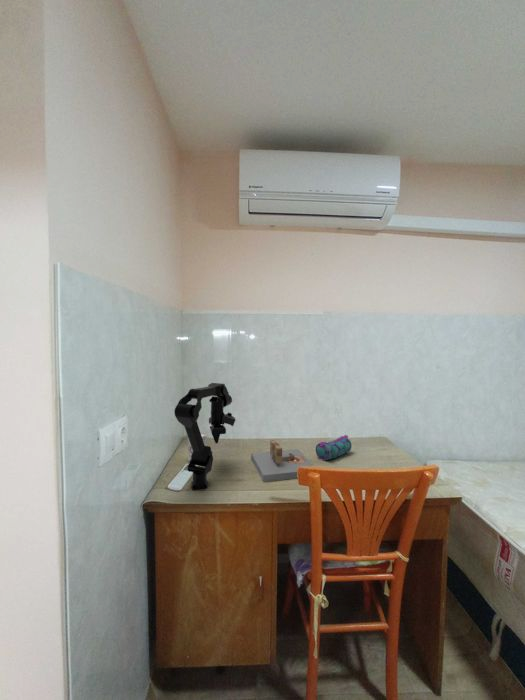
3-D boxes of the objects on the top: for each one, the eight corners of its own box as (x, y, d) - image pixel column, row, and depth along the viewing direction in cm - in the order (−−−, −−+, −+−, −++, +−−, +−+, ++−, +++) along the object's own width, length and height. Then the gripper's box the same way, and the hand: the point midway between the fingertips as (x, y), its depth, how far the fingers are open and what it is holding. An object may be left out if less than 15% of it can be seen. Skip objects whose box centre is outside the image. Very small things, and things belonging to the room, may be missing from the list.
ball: (292, 461, 135) (292, 467, 135) (298, 460, 136) (297, 466, 136) (290, 458, 138) (289, 464, 138) (295, 458, 138) (295, 464, 139)
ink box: (199, 455, 146) (200, 433, 146) (206, 457, 143) (207, 434, 143) (187, 460, 139) (188, 437, 138) (194, 463, 136) (195, 439, 136)
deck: (317, 475, 127) (317, 469, 127) (263, 482, 120) (263, 475, 120) (297, 454, 150) (297, 449, 150) (251, 458, 143) (251, 452, 143)
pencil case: (328, 464, 140) (328, 445, 139) (314, 457, 147) (315, 440, 146) (352, 454, 153) (352, 437, 152) (338, 449, 160) (339, 432, 159)
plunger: (297, 463, 131) (297, 447, 131) (276, 465, 128) (277, 448, 128) (289, 454, 142) (289, 438, 141) (269, 455, 139) (270, 440, 139)
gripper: (237, 414, 122) (236, 449, 122) (231, 404, 140) (230, 435, 140) (212, 415, 119) (211, 451, 119) (208, 405, 137) (208, 436, 137)
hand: (216, 443), depth 129 cm, fingers closed
